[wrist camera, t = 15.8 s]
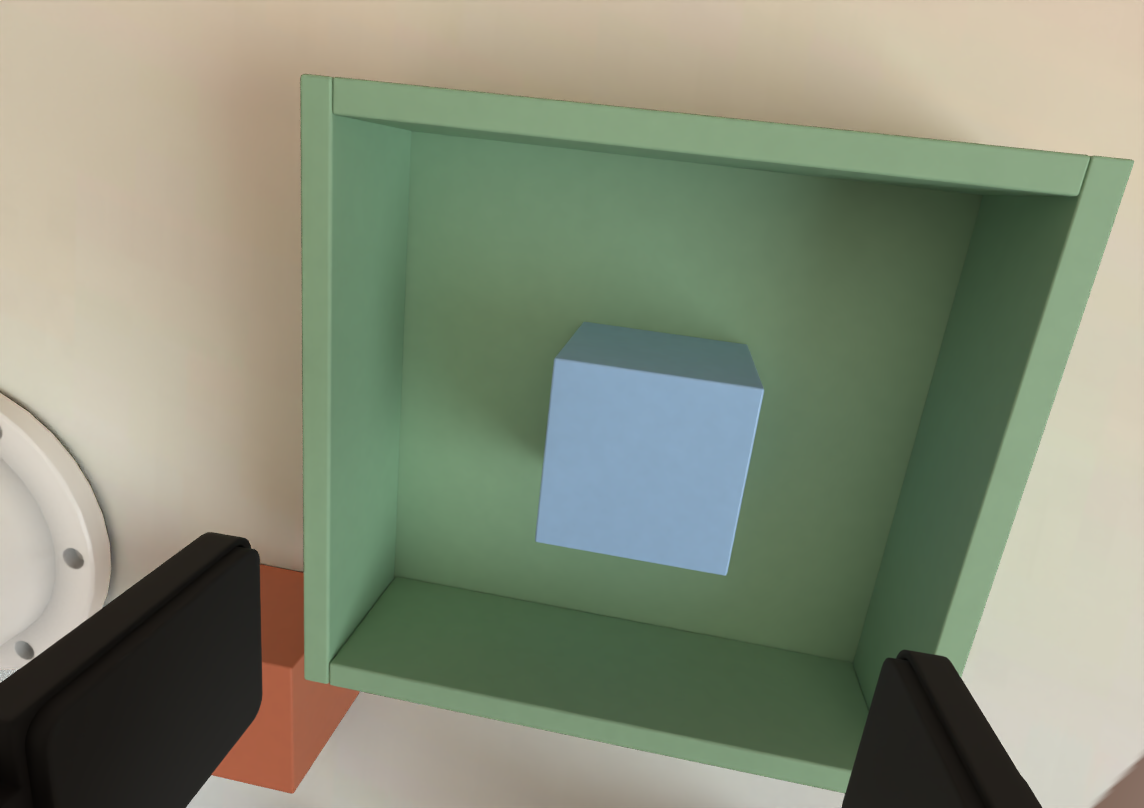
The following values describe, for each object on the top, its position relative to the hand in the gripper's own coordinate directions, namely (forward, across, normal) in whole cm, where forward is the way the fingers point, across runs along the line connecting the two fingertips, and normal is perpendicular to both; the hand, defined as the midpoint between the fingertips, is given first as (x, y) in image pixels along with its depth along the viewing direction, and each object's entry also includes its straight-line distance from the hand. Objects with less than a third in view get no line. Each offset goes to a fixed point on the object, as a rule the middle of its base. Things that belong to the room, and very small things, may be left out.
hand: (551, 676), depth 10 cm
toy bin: (+13, -1, 0) cm, 13 cm away
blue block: (+13, -1, 0) cm, 13 cm away
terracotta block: (+14, +11, +11) cm, 20 cm away
